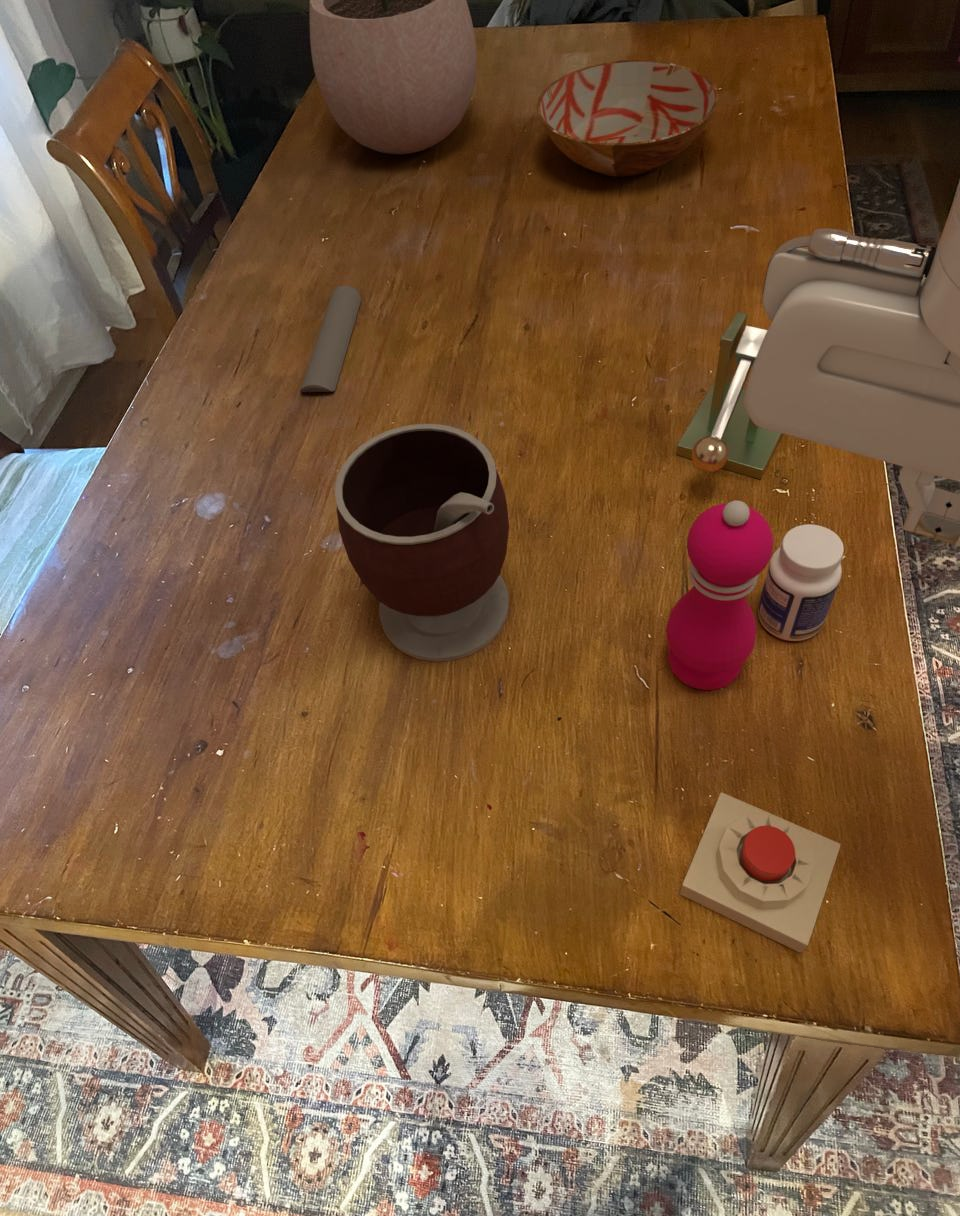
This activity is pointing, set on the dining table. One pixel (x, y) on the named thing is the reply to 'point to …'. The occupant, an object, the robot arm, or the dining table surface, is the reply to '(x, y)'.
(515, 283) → the dining table surface
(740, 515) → the pepper mill
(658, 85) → the bowl
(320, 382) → the gray half cylinder
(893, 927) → the dining table surface
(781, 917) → the box
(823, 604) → the pill bottle
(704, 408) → the bracket
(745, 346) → the lever
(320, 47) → the plant pot
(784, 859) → the button
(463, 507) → the mate gourd
